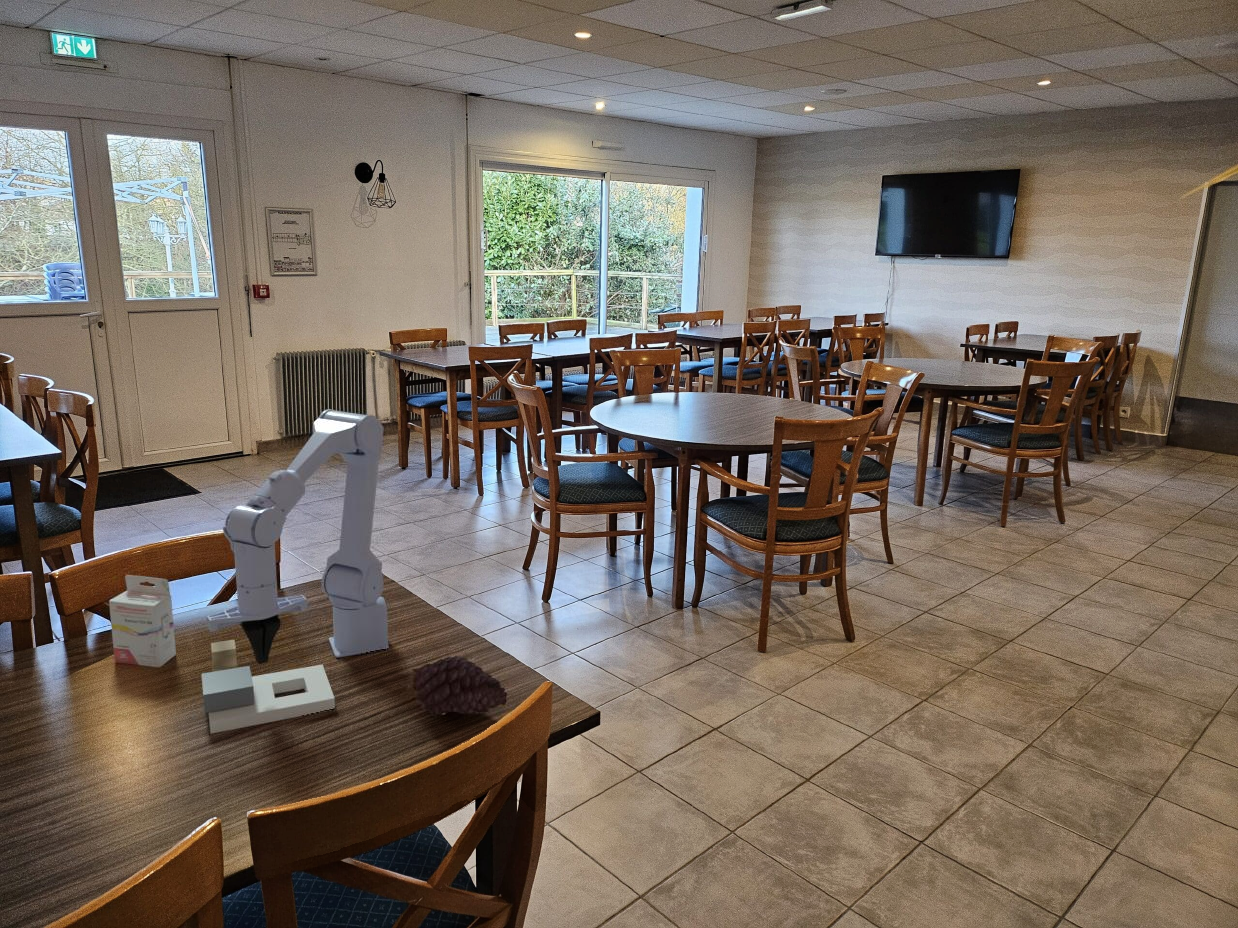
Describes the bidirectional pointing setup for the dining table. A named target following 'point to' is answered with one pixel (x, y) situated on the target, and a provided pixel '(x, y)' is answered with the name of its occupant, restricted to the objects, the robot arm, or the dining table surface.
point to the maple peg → (223, 655)
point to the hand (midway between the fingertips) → (261, 660)
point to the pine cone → (456, 687)
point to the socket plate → (278, 699)
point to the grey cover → (227, 688)
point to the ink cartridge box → (143, 623)
